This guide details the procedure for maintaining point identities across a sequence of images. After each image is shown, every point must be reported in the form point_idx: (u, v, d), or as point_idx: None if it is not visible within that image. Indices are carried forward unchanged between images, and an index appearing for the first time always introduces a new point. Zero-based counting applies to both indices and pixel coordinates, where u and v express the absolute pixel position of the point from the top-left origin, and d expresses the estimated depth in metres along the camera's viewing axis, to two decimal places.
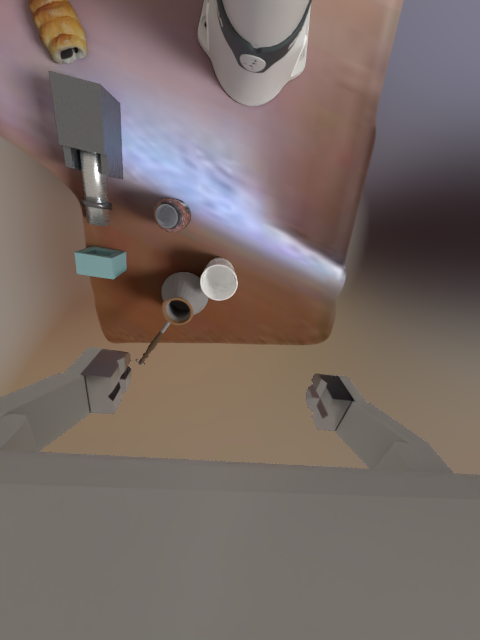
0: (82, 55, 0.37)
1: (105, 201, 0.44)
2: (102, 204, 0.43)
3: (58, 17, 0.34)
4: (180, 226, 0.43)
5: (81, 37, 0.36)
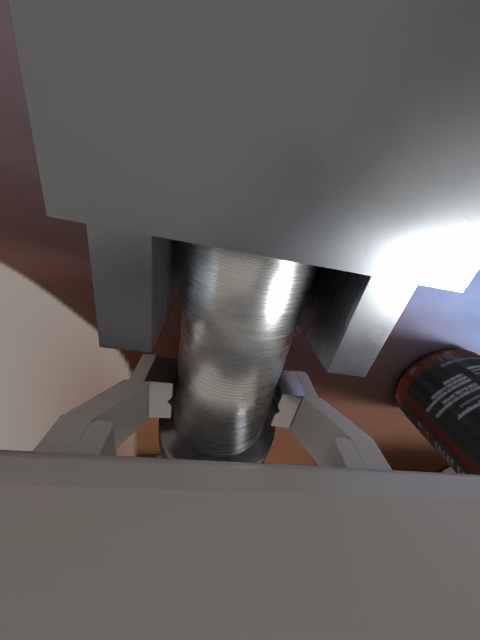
0: None
1: (262, 422, 0.10)
2: (263, 457, 0.09)
3: None
4: None
5: None
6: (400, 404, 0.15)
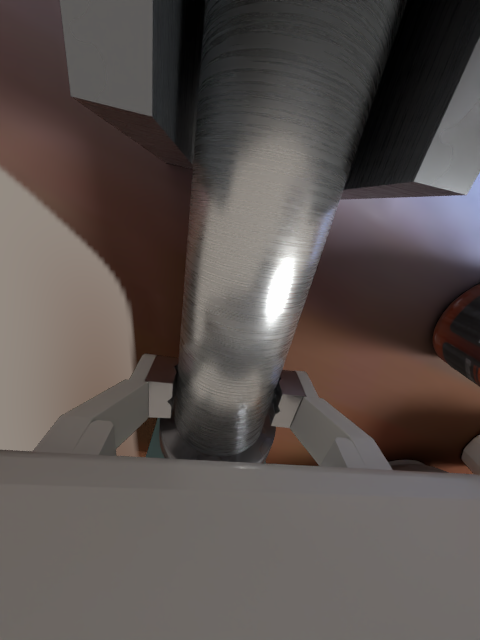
0: None
1: None
2: (264, 457, 0.09)
3: None
4: None
5: None
6: (440, 346, 0.13)
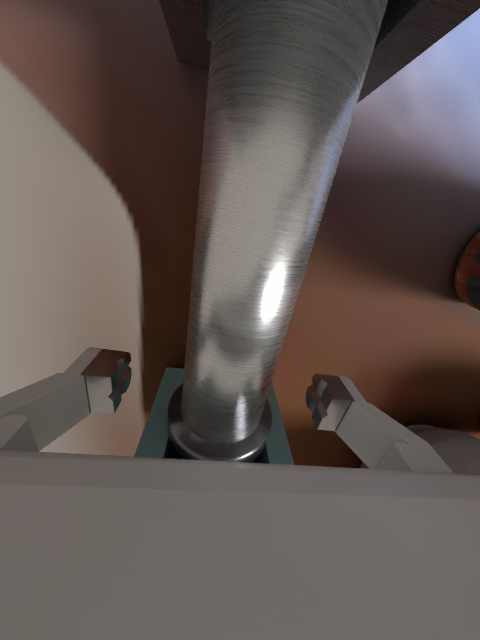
0: None
1: None
2: (261, 444, 0.10)
3: None
4: None
5: None
6: (463, 283, 0.13)
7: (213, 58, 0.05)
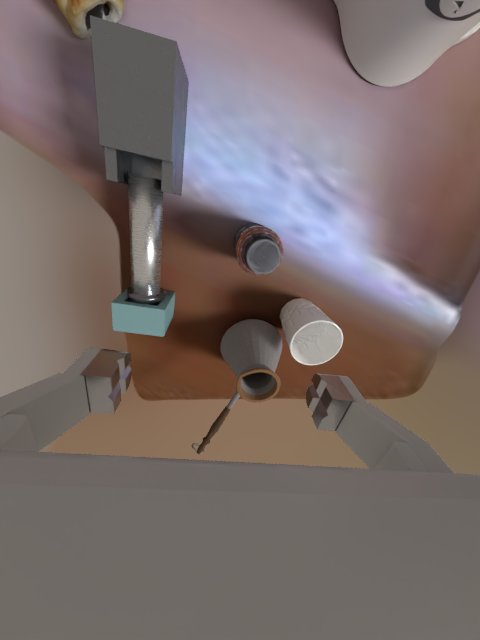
0: (116, 17, 0.23)
1: (157, 291, 0.33)
2: (155, 298, 0.33)
3: None
4: (274, 267, 0.28)
5: None
6: None
7: None
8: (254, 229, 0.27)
